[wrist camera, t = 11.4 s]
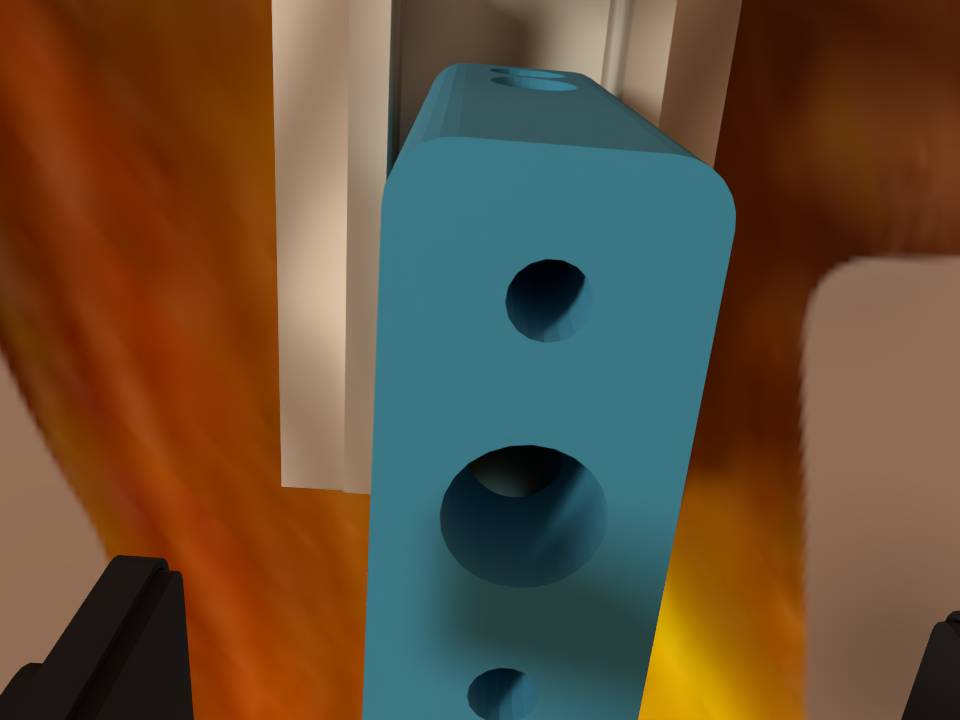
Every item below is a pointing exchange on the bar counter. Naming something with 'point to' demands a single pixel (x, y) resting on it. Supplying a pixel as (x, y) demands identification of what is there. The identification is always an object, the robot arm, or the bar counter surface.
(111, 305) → the bar counter surface
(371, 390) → the book stand
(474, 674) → the block
